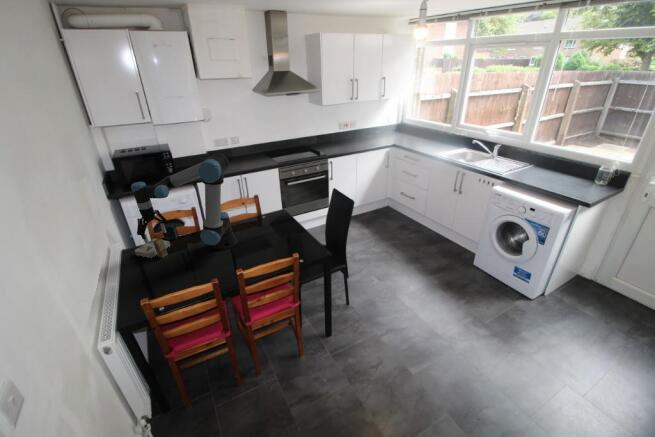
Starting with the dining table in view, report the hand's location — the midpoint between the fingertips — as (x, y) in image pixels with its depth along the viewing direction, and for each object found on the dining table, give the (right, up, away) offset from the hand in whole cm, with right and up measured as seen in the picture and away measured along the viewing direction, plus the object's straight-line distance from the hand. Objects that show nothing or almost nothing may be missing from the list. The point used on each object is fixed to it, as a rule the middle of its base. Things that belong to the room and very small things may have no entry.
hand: (156, 237), depth 202 cm
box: (-3, -2, +28) cm, 28 cm away
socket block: (-9, -10, +13) cm, 19 cm away
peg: (+1, -13, +7) cm, 14 cm away
